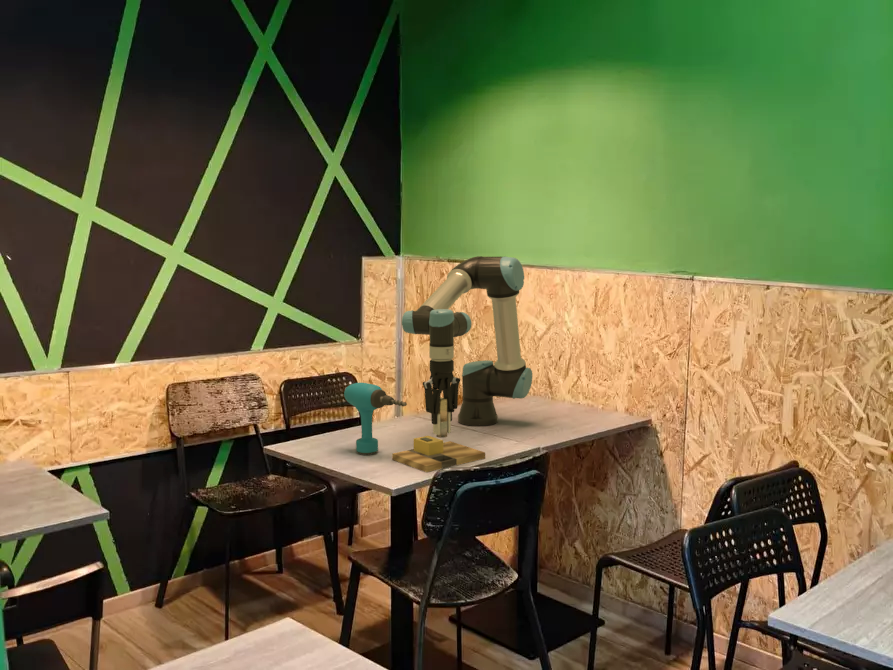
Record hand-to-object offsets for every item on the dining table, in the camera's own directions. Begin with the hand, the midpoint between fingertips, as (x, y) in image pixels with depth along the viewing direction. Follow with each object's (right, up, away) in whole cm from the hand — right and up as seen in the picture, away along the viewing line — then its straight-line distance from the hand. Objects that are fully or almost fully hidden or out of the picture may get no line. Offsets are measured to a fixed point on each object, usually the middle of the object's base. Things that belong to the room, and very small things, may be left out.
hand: (441, 432), depth 267 cm
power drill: (-22, -9, +12) cm, 26 cm away
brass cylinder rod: (0, -1, 0) cm, 1 cm away
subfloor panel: (-1, -9, +8) cm, 12 cm away
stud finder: (-4, -7, +9) cm, 12 cm away
